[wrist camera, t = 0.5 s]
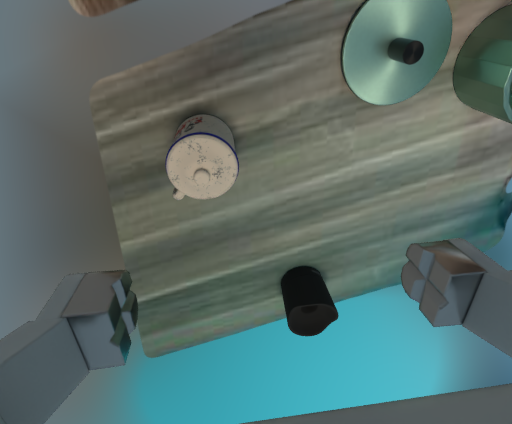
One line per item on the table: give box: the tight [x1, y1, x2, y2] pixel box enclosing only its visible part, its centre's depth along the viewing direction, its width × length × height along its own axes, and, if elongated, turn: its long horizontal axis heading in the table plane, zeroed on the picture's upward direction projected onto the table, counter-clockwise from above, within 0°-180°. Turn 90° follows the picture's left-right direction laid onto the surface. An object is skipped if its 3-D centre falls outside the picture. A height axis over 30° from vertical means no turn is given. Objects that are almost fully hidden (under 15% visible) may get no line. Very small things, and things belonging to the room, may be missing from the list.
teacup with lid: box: [166, 114, 239, 200], centre depth 41 cm, size 12×9×12 cm
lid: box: [342, 0, 452, 105], centre depth 39 cm, size 14×14×5 cm
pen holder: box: [281, 267, 338, 336], centre depth 60 cm, size 9×9×10 cm
